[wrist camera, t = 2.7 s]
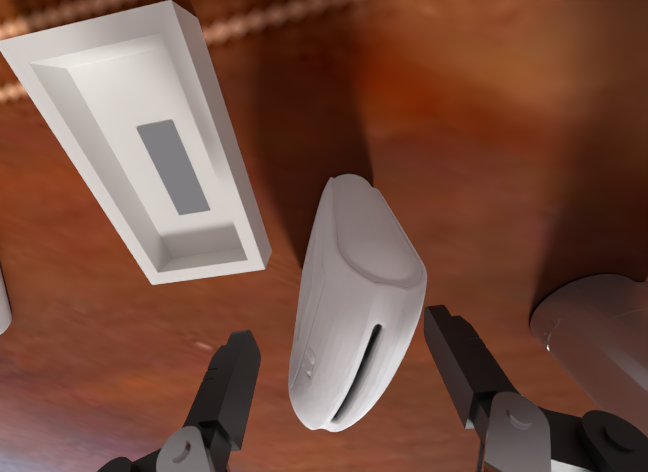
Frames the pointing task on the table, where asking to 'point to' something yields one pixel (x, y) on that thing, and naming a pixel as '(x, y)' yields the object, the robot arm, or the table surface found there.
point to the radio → (4, 307)
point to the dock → (149, 137)
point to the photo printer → (352, 306)
